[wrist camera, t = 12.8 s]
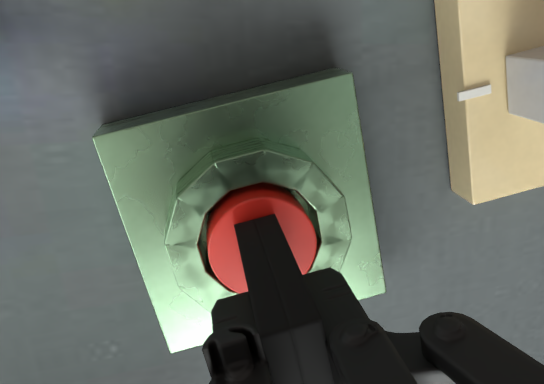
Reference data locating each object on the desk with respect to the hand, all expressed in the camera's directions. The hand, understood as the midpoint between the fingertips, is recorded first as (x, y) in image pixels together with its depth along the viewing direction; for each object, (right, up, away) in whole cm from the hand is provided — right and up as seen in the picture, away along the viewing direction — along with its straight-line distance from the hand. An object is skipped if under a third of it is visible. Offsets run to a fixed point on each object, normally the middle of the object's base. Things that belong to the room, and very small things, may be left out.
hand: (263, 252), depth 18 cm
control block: (-1, +2, +4) cm, 5 cm away
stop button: (0, +1, +2) cm, 2 cm away
